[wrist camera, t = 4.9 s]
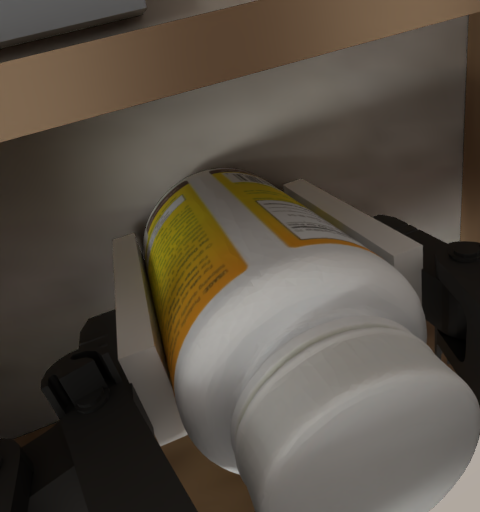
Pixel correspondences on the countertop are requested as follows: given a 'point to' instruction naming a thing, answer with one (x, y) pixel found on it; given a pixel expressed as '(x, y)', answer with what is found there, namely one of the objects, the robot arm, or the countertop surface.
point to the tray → (59, 17)
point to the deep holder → (211, 72)
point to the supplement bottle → (301, 354)
